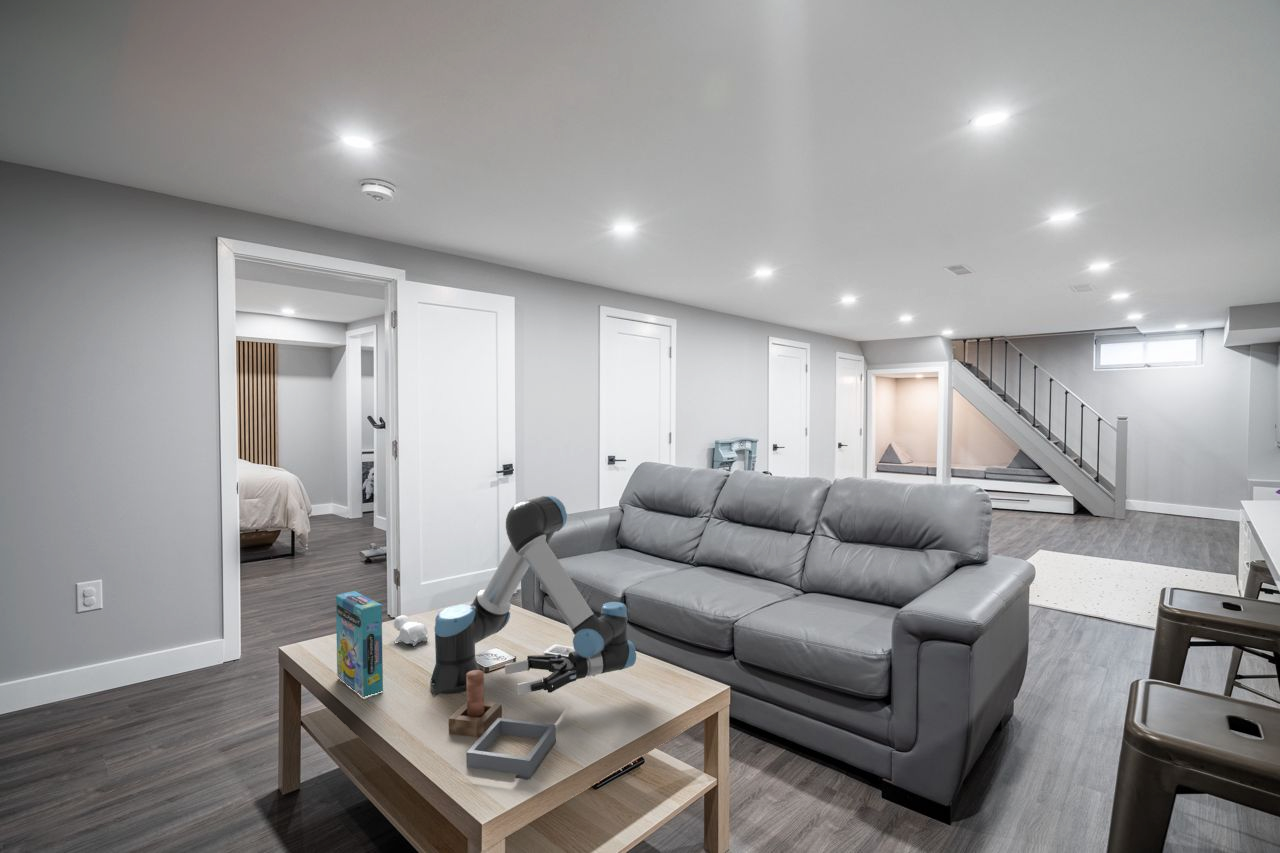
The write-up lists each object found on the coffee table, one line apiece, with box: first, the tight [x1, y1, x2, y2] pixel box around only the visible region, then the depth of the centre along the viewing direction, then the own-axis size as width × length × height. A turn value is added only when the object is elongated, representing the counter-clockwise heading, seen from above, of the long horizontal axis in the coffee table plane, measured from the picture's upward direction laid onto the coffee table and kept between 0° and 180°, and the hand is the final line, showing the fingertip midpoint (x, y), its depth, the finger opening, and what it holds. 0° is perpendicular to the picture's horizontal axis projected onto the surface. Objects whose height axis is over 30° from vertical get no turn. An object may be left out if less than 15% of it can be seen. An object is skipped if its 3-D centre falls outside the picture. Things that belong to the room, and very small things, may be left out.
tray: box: [465, 717, 557, 780], centre depth 144 cm, size 16×16×4 cm
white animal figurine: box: [393, 615, 430, 647], centre depth 219 cm, size 9×8×15 cm
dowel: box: [466, 669, 485, 718], centre depth 156 cm, size 4×4×14 cm
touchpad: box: [543, 643, 575, 658], centre depth 206 cm, size 8×15×2 cm, turn 67°
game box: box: [335, 590, 384, 697], centre depth 182 cm, size 20×6×27 cm, turn 47°
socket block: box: [448, 701, 503, 739], centre depth 156 cm, size 10×10×5 cm
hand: (511, 679), depth 160 cm, fingers open, 13 cm apart
